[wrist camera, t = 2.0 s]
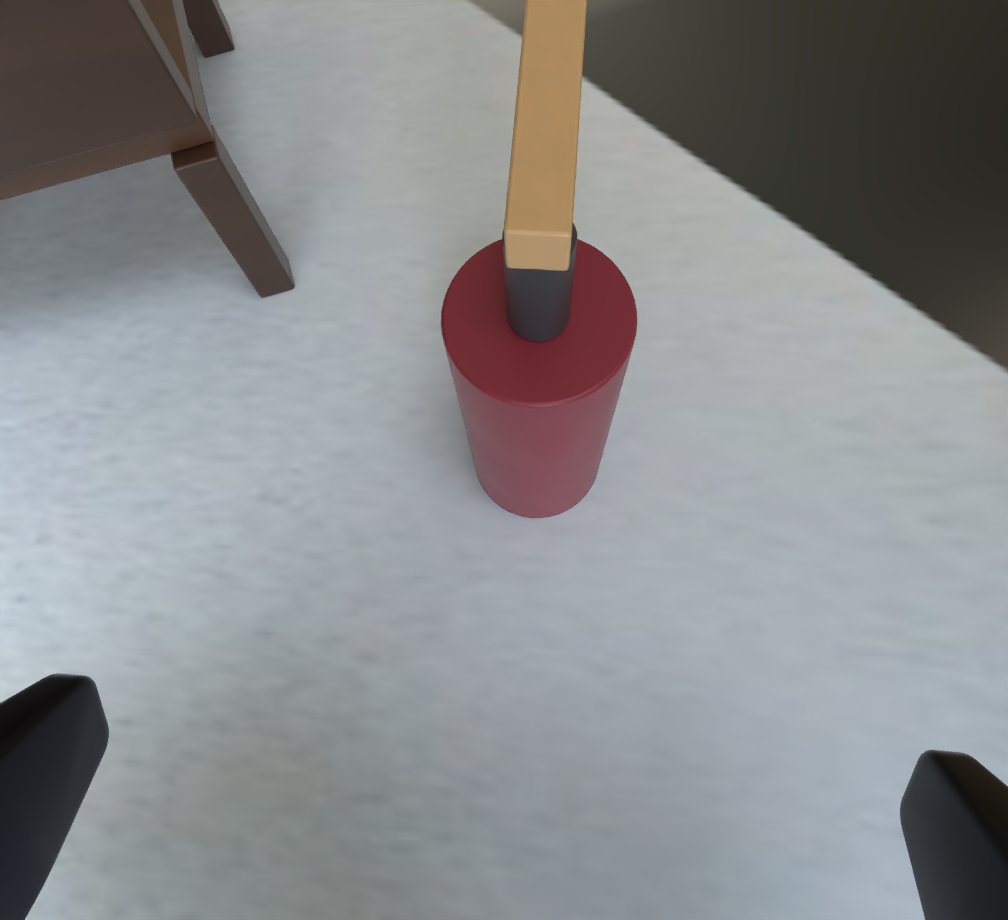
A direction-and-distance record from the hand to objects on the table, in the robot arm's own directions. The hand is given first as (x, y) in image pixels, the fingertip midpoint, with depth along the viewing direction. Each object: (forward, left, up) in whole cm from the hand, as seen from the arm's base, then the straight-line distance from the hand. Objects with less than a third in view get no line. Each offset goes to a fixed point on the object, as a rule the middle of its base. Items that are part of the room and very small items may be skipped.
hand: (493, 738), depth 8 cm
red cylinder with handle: (+8, -4, -13) cm, 16 cm away
